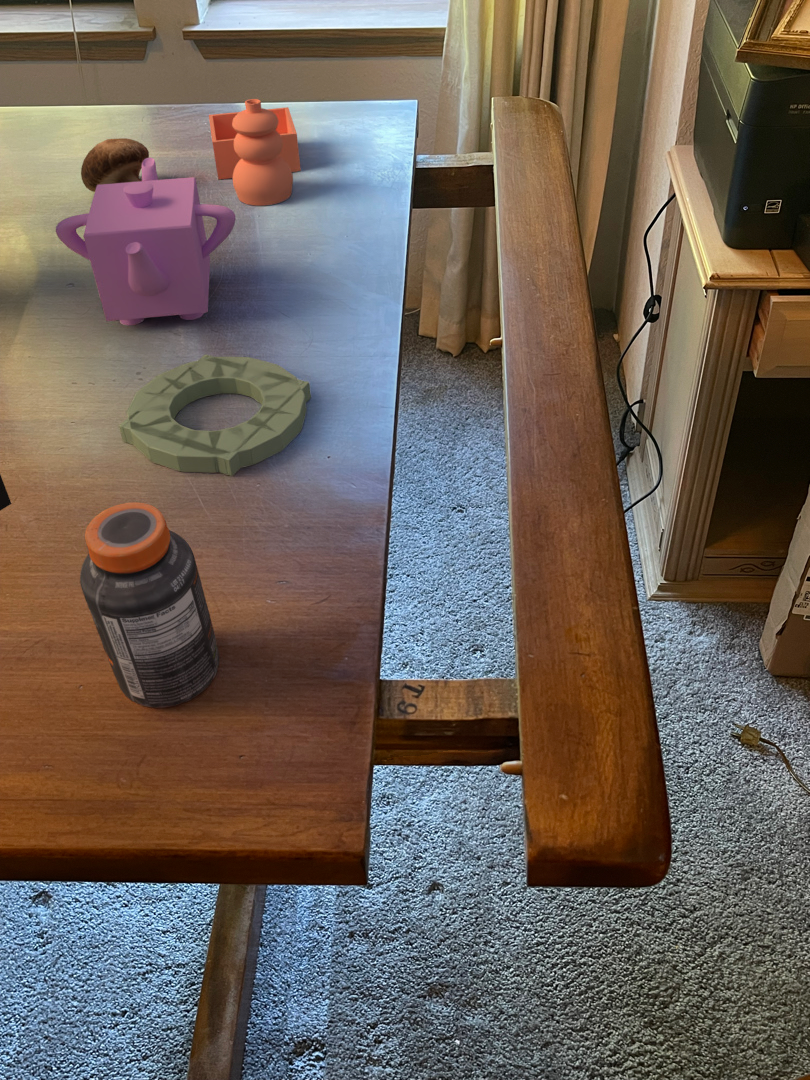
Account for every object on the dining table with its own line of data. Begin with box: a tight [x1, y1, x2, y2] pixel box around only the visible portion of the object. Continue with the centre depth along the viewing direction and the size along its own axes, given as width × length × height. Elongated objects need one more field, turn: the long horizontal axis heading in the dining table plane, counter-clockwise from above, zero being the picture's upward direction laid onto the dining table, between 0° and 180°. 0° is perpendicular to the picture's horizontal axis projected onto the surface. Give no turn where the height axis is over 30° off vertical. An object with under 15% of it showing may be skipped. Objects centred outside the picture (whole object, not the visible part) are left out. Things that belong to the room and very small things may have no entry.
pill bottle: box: [79, 501, 221, 708], centre depth 51 cm, size 6×6×11 cm
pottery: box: [208, 98, 301, 207], centre depth 106 cm, size 18×10×10 cm, turn 11°
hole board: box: [118, 353, 312, 477], centre depth 73 cm, size 13×13×2 cm
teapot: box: [55, 157, 236, 326], centre depth 84 cm, size 15×13×11 cm
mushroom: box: [80, 137, 150, 193], centre depth 105 cm, size 8×8×6 cm
